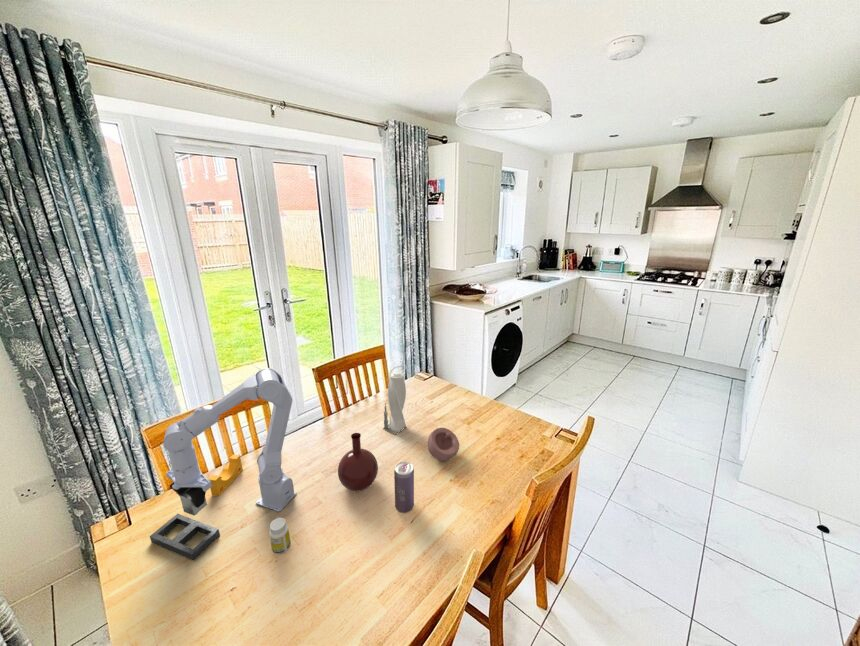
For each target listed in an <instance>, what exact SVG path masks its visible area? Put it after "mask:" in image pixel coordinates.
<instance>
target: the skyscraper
mask: <svg viewBox="0 0 860 646" xmlns="http://www.w3.org/2000/svg"><path fill="white" fill-rule="evenodd" d="M397 368H398V369H399V368H402V369H401V371H399V370H398V371H397V370H395V369H397ZM404 369H405V366H401V365H399V366H395V367H393V368H392V369H391V370H390V371H389V375H388V382H387V383H388V385H387V399H388V406H389V410H390V411H389V412H390V418H389V419H388V413H389V412H388V411H387V406H386V405H387V403H386V402H384V405H385V406H384V411H383V416H384V417H383V425H384V426H383V428H382V430H384V429H385V431H386V430H387V431H386V432H388V431H389V432H388V433H390V432H391V433H390V434H392V433H393V435H394V434H395V435H394V436H396V435H398V434H399V433H400V432H402V431H403V430H404V429H405V427H406V428H407V424H406V421H405V418H404V413H403V409H404V406H405V404H406V403H405V402H406V399H407V397H406V396H407V388H406V382H405V377H404V373H403V371H404ZM393 370H395V371H393ZM403 428H404V429H403ZM402 429H403V430H402ZM401 430H402V431H401ZM399 431H400V432H399ZM398 432H399V433H398ZM397 433H398V434H397Z"/></svg>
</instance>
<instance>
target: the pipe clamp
mask: <svg viewBox="0 0 860 646" xmlns="http://www.w3.org/2000/svg"><path fill="white" fill-rule="evenodd" d="M228 459H229V462H228V463H227V464H226V465H225V466H224V467H223V469H222V470H221V472H220V473H219V474H218V475H214V474H213V475H211V476H210V477H209V478H208V480H209V481H211V485H212V487H211V488H210V492H211V496H215V497H216V496H217V497H220V496H221V495H222V493H223V492H224V491H225V490H226V489H228V487H229V486H230V485H231V484H232V482H233V481H234V480H235V479H236V478H237V477H238V476H239V474H241V472H242V471H243V464H242V458H241V455H239V454H232V455H231V456H230V457H229V458H228Z"/></svg>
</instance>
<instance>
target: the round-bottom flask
mask: <svg viewBox="0 0 860 646" xmlns="http://www.w3.org/2000/svg"><path fill="white" fill-rule="evenodd" d="M361 436H362V434H361V433H359V432H354V433H351V435H350V438H351V445H352V449H351V450H348V452H346V453H345V454H344V455H343V456H342V457H341V459H340V460H339V463H338V467H337V477H338V479H339V482H340V484H341V485H342V486H343V487H344V488H345V489H347V490H349V491H352V492H361V491H364V490H366V489H368V488H370V487H371V485H372V484H373V483H374V482H375V481H376V479H377V476H378V471H379V464H378V461H377V459H376V456H375V455H374V454H373V452H371V451H370V450H368V449H365V448H362V447H361V445H362V444H361Z"/></svg>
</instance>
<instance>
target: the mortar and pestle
mask: <svg viewBox="0 0 860 646" xmlns="http://www.w3.org/2000/svg"><path fill="white" fill-rule="evenodd" d="M426 445H427V449H428V452H429V454H430V455H431V457H433V458H434V459H435V460H437V461H440V462H447V461H450V460H452V459H454V457H456V455H458V452H459V450H460V441H459V438H458V437H457V435H456V434H455V433H454V432H453V431H452V430H450V429H448V428H446V427H437V428H435V429H433V431H431V433H430V434H429V436H428V438H427V444H426Z"/></svg>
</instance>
